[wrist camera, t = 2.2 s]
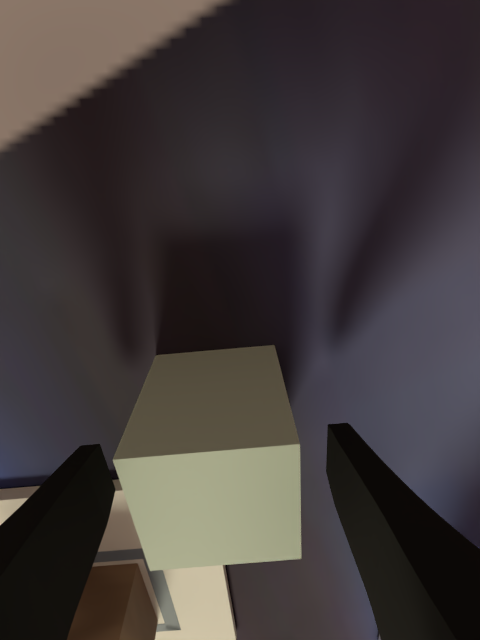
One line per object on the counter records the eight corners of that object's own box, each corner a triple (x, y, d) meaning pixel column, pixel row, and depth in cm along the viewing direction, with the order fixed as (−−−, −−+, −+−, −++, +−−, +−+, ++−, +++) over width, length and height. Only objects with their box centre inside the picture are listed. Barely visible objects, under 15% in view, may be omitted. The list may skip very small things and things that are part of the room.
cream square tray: (209, 471, 15) (208, 483, 14) (236, 631, 21) (236, 643, 20) (-51, 493, 15) (-62, 505, 14) (48, 645, 21) (43, 658, 20)
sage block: (274, 344, 12) (299, 444, 8) (278, 434, 14) (301, 558, 10) (156, 354, 12) (112, 459, 8) (175, 443, 14) (149, 571, 10)
